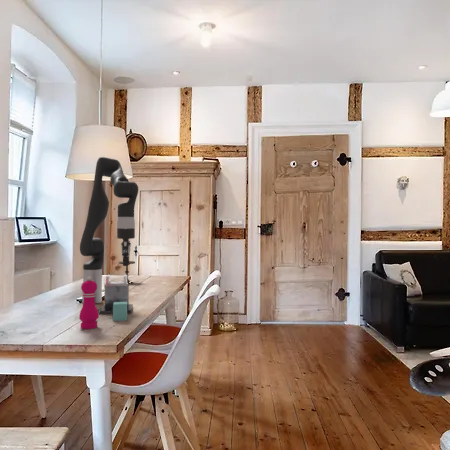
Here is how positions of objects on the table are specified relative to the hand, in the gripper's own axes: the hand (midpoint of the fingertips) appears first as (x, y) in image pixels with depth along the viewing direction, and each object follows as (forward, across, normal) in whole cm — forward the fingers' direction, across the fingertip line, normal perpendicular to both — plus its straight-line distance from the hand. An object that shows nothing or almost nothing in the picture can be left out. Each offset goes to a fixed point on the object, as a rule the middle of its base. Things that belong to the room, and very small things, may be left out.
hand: (126, 265), depth 180 cm
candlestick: (+22, -107, -4) cm, 109 cm away
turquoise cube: (+23, +2, -2) cm, 23 cm away
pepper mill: (+23, +14, -14) cm, 30 cm away
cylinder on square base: (+23, -16, -5) cm, 28 cm away
